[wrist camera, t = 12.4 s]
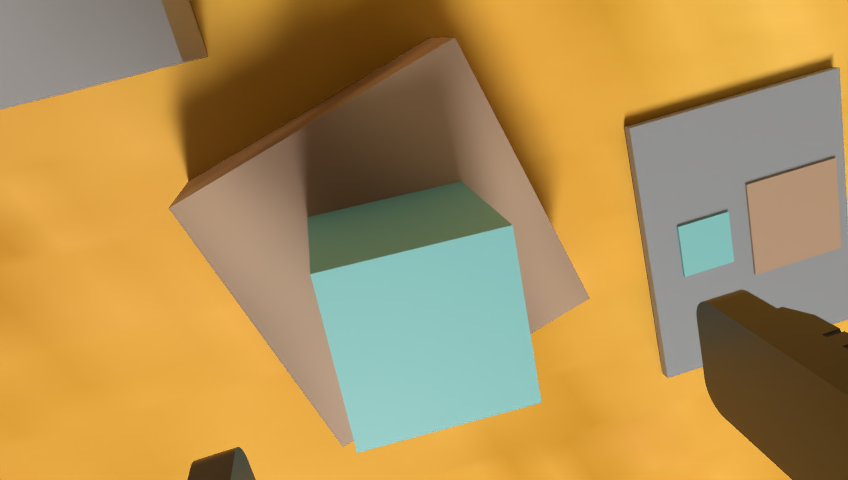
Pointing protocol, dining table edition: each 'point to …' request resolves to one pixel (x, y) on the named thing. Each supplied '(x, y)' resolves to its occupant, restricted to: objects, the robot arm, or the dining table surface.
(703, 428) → the dining table surface
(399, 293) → the teal block
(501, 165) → the walnut base block
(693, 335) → the card
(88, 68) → the gray block
